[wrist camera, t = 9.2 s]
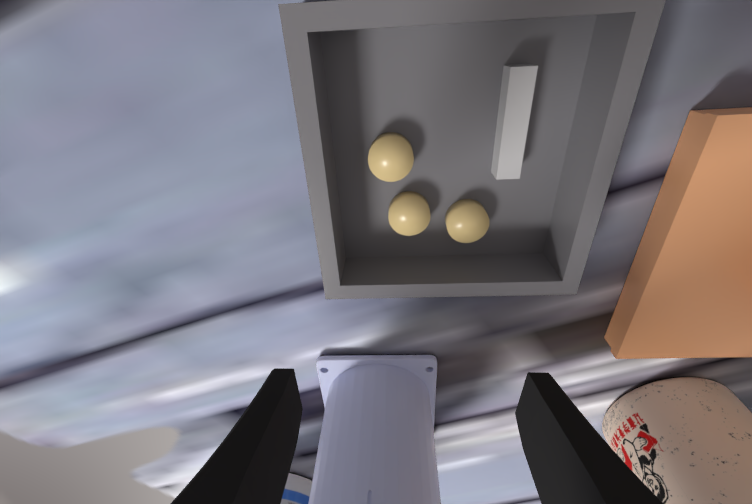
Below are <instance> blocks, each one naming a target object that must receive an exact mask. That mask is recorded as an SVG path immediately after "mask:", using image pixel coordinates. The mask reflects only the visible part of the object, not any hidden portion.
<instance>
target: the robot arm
mask: <svg viewBox="0 0 752 504" xmlns="http://www.w3.org/2000/svg"><path fill="white" fill-rule="evenodd" d="M428 367H429V368H428ZM316 368H317V372H318V377H319V382H320V387H321V392H322V397H323V402H324V407H325V412H324V418H323V423H322V429H321V435H320V440H319V446H318V452H317V457H316V463H315V469H314V474H313V480H312V486H311V492H310V497H309V503H308V504H441V500H440V490H439V481H438V471H437V462H436V452H435V442H434V416H435V398H436V379H437V359H436V357H435V356H433V355H354V356H320V357H318V358H317V361H316ZM515 414H516V419H517V424H518V429H519V433H520V437H521V442H522V446H523V450H524V453H525V456H526V459H527V462H528V465H529V468H530V471H531V474H532V477H533V480H534V483H535V486H536V488H537V491H538V494H539V497H540V500H541V503H542V504H664V503H663V502H662V501H661V500H660V499H659V498H658V497H657V496H656V495H655V494H654V493H653V492H652V491H651V490H650V489H649V488H648V487H647V486H646V485H645V484H644V483H643V482H642V481H641V480H640V479H639V478H638V477H637V476H636V475H635V474H634V472H633V471H632V470H631V469H630V468H629V467H628V466H627V465H626V464H625V463H624V462H623V461H622V460H621V458H620V457H619V456H618V455H617V454H616V453H615V452H614V451H613V450H612V448H611V447H610V446H609V445H608V444H607V443H606V442H605V440H604V439H603V438H602V437H601V436H600V435H599V433H598V432H597V431H596V430H595V429H594V428H593V427H592V425H591V424H590V423H589V422H588V421H587V419H586V418H585V417H584V416H583V415H582V413H581V412H580V411H579V410H578V409H577V407H576V406H575V405H574V404H573V402H572V401H571V400H570V399H569V397H568V396H567V395H566V394H565V392H564V391H563V390H562V389H561V387H560V386H559V385H558V384H557V382H556V381H555V380H554V379H553V377H552V376H551V375H550V374H549V373H528V374H527V377H526V380H525V383H524V387H523V390H522V393H521V396H520V399H519V403H518V406H517V409H516V412H515ZM301 415H302V404H301V400H300V395H299V391H298V386H297V381H296V377H295V372H294V369H274V370H272V371H271V373H270V375H269V376H268V378H267V379H266V381H265V382H264V384H263V385H262V387H261V389H260V390H259V392H258V393H257V395H256V396H255V398H254V399H253V400H252V402H251V403H250V405H249V406H248V408H247V409H246V411H245V412H244V413H243V415H242V416H241V418H240V419H239V420H238V422H237V423H236V424H235V426H234V427H233V429H232V430H231V431H230V433H229V434H228V435H227V437H226V438H225V439H224V441H223V442H222V443H221V444H220V446H219V447H218V448H217V449H216V451H215V452H214V453H213V455H212V456H211V457H210V458H209V460H208V461H207V462H206V463H205V465H204V466H203V467H202V468H201V469H200V471H199V472H198V473H197V474H196V475H195V477H194V478H193V479H192V480H191V481H190V482H189V484H188V485H187V486H186V487H185V488H184V489H183V490H182V492H181V493H180V494H179V495H178V496H177V497H176V498H175V499H174V500H173V502H172V503H171V504H281V500H282V496H283V493H284V489H285V485H286V482H287V478H288V474H289V471H290V467H291V463H292V460H293V456H294V452H295V448H296V445H297V440H298V434H299V428H300V422H301Z"/></svg>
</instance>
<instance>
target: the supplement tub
mask: <svg viewBox="0 0 752 504" xmlns="http://www.w3.org/2000/svg"><path fill="white" fill-rule="evenodd" d="M311 486H312V481H311V480H309V479H307V478H305V477H302V476H299V475H295V474H291V473H289V474H288V478H287V482H286V485H285V489H284V493H283V496H282V500H281V504H308V503H309V497H310V492H311Z"/></svg>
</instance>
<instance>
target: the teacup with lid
mask: <svg viewBox="0 0 752 504" xmlns="http://www.w3.org/2000/svg"><path fill="white" fill-rule="evenodd" d="M602 429H603V433H604V436H605V438H606V440H607V442H608V444H609V446H610V447H611V448H612V450H613V451H614V452H615V453H616V454H617V455H618V456H619V457H620V458H621V460H622V461H623V462H624V463H625V464H626V465H627V466H628V467H629V468H630V469H631V470H632V471H633V472H634V474H635V475H636V476H637V477H638V478H639V479H640V480H641V481H642V482H643V483H644V484H645V485H646V486H647V487H648V488H649V489H650V490H651V491H652V492H653V493H654V494H655V495H656V496H657V497H658V498H659V499H660V500H661V501H662V502H663V503H664V504H752V413H751V412H750V411H749V409H748V408H747V407H746V406H745V405H744V404H743V403H742V402H741V401H740V400H739V399H738V398H737V397H736V396H735V395H734V394H733V393H732V392H731V391H730V390H729V389H728V388H727V387H725V386H724V385H722V384H720V383H718V382H715V381H712V380H708V379H704V378H696V377H678V378H670V379H664V380H659V381H656V382H652V383H649V384H646V385H643V386H641V387H639V388H636V389H634V390H632V391H630V392H629V393H627V394H625V395H624V396H622V397H621V398H620V399H618V400H617V401H616V402H615V403H614V404H613V405H612V406H611V407H610V408H609V409H608V411H607V412H606V414H605V416H604V419H603V423H602Z"/></svg>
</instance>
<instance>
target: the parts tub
mask: <svg viewBox="0 0 752 504" xmlns="http://www.w3.org/2000/svg"><path fill="white" fill-rule="evenodd" d="M665 1H666V0H335V1H320V2H305V3H290V4H278V5H279V11H280V17H281V24H282V30H283V36H284V42H285V49H286V55H287V61H288V67H289V73H290V80H291V86H292V92H293V98H294V105H295V111H296V117H297V123H298V130H299V136H300V142H301V148H302V154H303V161H304V167H305V173H306V179H307V186H308V192H309V198H310V204H311V210H312V217H313V223H314V229H315V235H316V242H317V248H318V254H319V260H320V266H321V273H322V279H323V285H324V291H325V298H326V299H362V298H418V297H473V296H529V295H576V294H577V291H578V288H579V285H580V281H581V278H582V275H583V271H584V268H585V265H586V262H587V258H588V255H589V252H590V248H591V245H592V242H593V238H594V235H595V232H596V229H597V225H598V222H599V219H600V215H601V212H602V209H603V205H604V202H605V199H606V196H607V192H608V189H609V186H610V182H611V179H612V176H613V173H614V169H615V166H616V163H617V159H618V156H619V153H620V149H621V146H622V143H623V140H624V136H625V133H626V130H627V126H628V123H629V120H630V117H631V113H632V110H633V107H634V103H635V100H636V97H637V93H638V90H639V87H640V84H641V80H642V77H643V74H644V70H645V67H646V64H647V60H648V57H649V54H650V51H651V47H652V44H653V41H654V37H655V34H656V31H657V28H658V24H659V21H660V18H661V14H662V11H663V8H664V4H665Z"/></svg>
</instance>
